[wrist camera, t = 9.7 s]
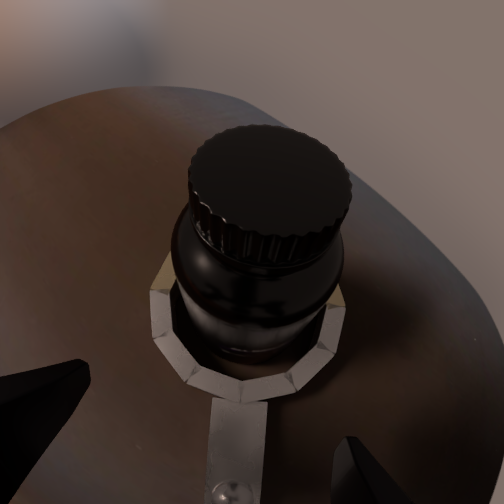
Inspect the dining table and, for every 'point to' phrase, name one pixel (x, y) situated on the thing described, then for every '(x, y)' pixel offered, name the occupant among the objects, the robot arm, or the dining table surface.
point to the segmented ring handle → (239, 401)
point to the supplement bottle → (259, 239)
